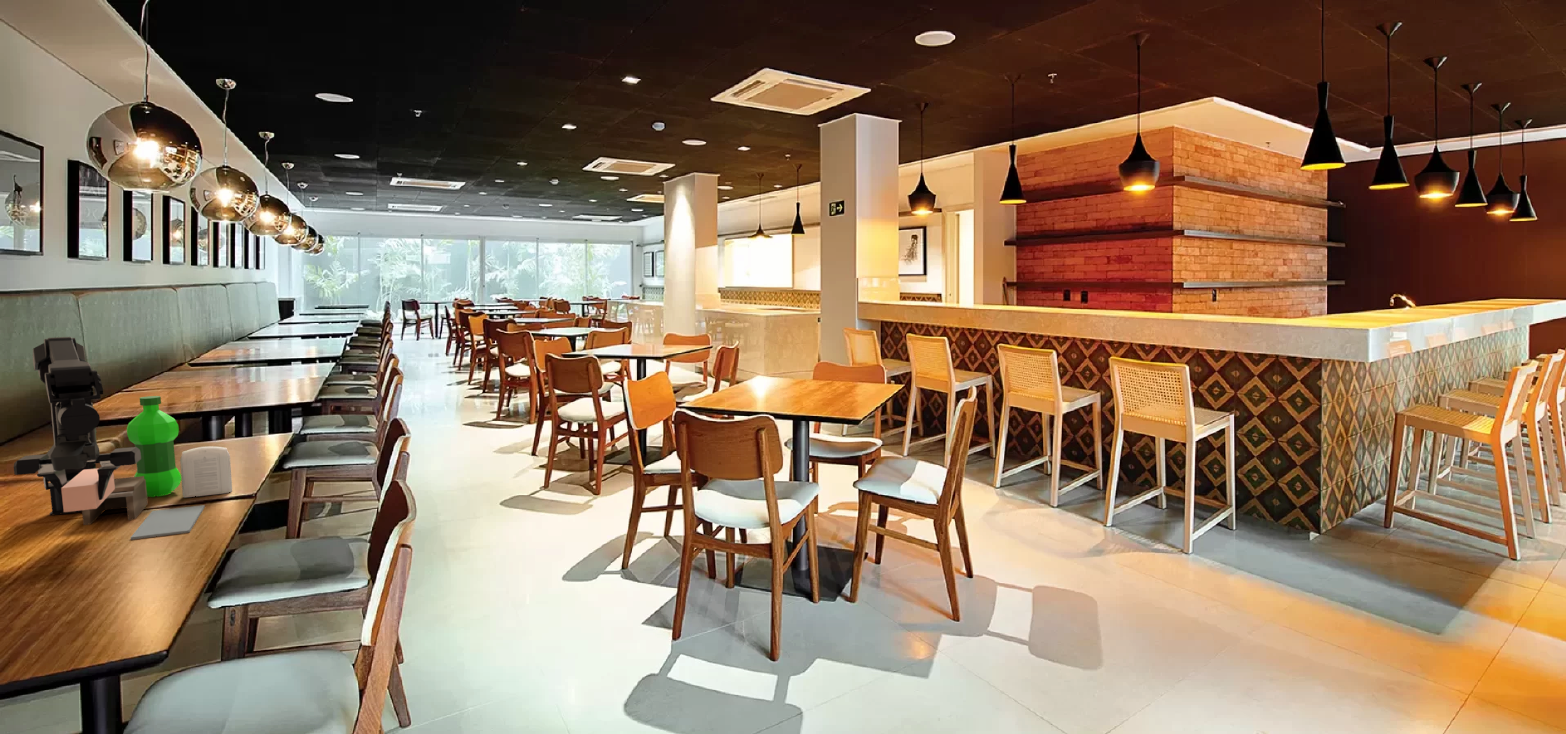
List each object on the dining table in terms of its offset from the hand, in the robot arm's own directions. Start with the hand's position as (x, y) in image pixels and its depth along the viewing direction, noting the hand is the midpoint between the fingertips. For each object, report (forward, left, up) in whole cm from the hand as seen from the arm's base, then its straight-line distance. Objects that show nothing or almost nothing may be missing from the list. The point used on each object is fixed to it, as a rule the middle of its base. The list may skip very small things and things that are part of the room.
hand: (84, 501), depth 160 cm
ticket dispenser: (0, +23, -9) cm, 24 cm away
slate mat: (+12, +10, -9) cm, 18 cm away
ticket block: (0, +5, -1) cm, 5 cm away
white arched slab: (+16, +34, -10) cm, 38 cm away
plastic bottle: (+5, +40, -10) cm, 41 cm away
